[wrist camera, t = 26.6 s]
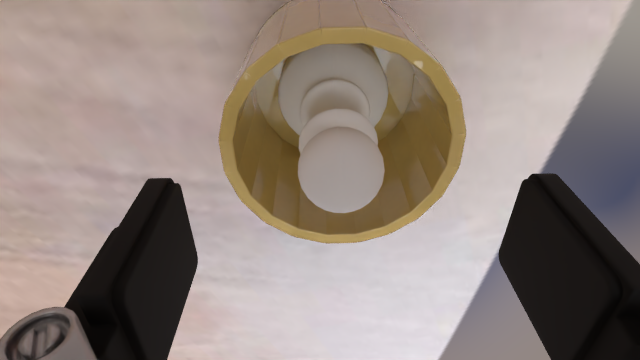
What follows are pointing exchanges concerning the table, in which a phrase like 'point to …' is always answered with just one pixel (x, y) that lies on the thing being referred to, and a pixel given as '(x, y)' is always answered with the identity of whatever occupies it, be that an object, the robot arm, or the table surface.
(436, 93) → the yellow cup
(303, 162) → the chess pawn
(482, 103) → the table surface
